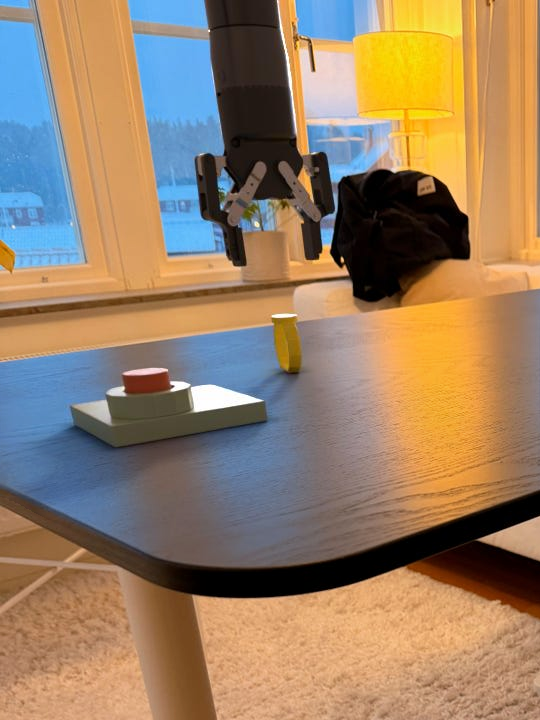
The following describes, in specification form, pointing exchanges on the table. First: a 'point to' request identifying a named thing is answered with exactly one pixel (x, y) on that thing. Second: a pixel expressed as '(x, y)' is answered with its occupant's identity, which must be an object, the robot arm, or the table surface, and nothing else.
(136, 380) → the button
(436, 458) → the table surface
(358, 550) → the table surface
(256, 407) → the console
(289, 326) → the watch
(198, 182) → the robot arm
